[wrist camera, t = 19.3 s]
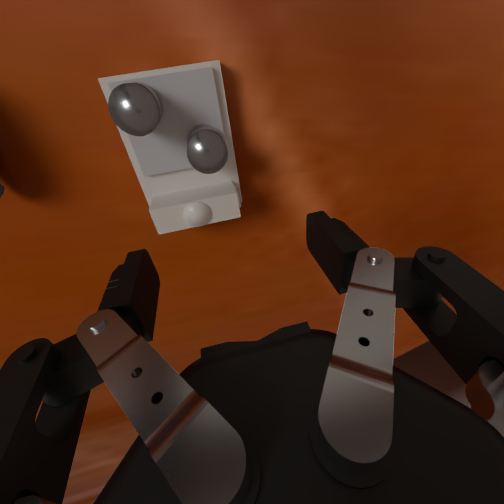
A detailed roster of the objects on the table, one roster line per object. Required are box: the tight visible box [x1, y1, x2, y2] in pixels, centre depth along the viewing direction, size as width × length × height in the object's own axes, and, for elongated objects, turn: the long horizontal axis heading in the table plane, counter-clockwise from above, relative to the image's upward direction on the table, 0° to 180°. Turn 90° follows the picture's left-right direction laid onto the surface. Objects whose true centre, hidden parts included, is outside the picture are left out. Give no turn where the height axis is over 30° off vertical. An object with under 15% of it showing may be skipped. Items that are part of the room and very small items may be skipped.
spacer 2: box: [187, 124, 228, 174], centre depth 29 cm, size 4×4×5 cm
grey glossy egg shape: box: [108, 82, 163, 136], centre depth 26 cm, size 4×4×5 cm
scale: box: [98, 60, 242, 234], centre depth 31 cm, size 17×13×7 cm
